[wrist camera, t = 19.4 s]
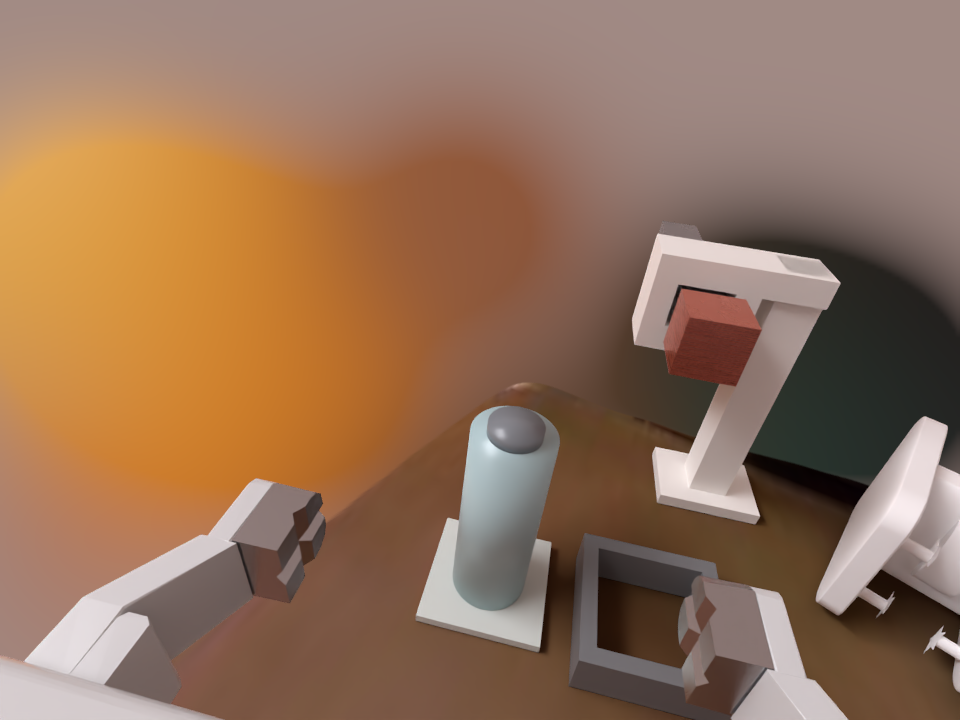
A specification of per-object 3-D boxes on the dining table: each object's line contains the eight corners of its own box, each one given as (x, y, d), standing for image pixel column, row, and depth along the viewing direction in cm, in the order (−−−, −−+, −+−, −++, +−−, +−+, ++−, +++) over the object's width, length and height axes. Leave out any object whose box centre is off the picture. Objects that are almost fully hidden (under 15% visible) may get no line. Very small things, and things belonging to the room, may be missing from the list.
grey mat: (550, 547, 39) (551, 542, 39) (538, 652, 33) (540, 647, 32) (447, 522, 40) (447, 517, 40) (415, 620, 34) (416, 615, 33)
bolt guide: (740, 473, 48) (851, 260, 36) (755, 524, 43) (890, 297, 32) (593, 442, 50) (656, 229, 38) (592, 488, 45) (663, 259, 33)
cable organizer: (852, 503, 46) (926, 401, 40) (1001, 584, 41) (1116, 479, 34) (802, 614, 37) (889, 502, 30) (988, 739, 31) (1144, 634, 25)
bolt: (690, 260, 49) (704, 218, 47) (735, 386, 32) (762, 330, 29) (647, 252, 50) (659, 211, 47) (669, 373, 32) (689, 317, 30)
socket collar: (700, 588, 38) (715, 563, 36) (723, 727, 30) (743, 703, 28) (576, 559, 39) (584, 533, 37) (568, 686, 31) (579, 660, 29)
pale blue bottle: (528, 554, 38) (564, 406, 30) (519, 618, 34) (558, 465, 26) (461, 538, 38) (481, 389, 31) (444, 599, 34) (462, 444, 27)
